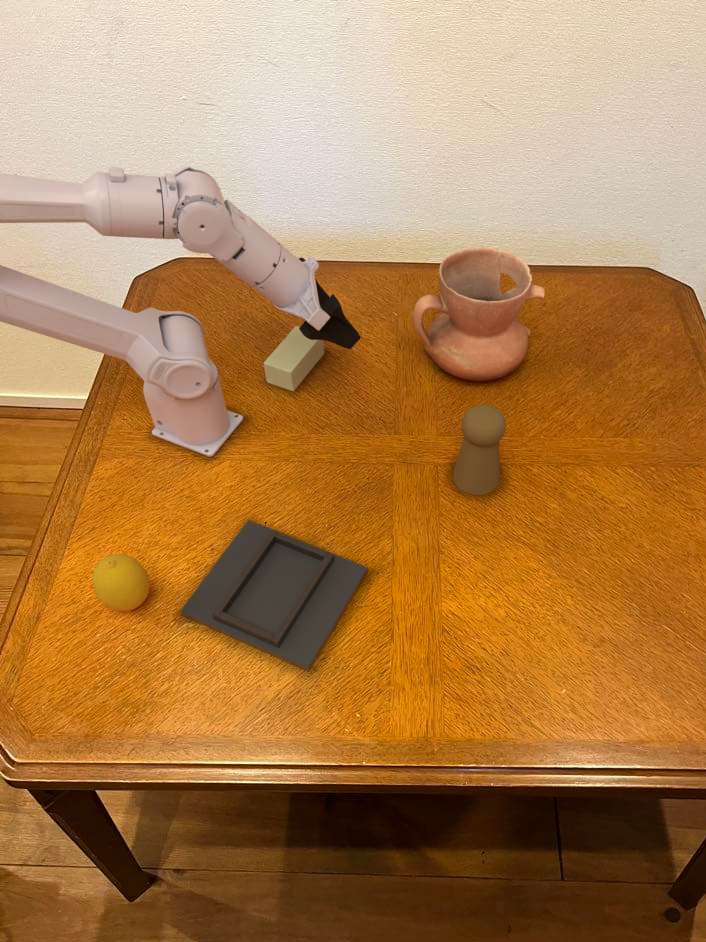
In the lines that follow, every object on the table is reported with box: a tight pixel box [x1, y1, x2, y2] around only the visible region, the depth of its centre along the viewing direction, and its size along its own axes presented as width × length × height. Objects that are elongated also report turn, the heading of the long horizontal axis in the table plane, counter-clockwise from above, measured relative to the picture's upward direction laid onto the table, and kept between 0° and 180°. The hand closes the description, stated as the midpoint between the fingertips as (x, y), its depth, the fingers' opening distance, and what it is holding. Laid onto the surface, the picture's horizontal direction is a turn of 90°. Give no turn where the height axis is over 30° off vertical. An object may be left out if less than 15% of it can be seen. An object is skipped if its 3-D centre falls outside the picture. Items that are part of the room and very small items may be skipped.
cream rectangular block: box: [263, 325, 325, 392], centre depth 104 cm, size 4×9×4 cm, turn 155°
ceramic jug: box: [412, 247, 546, 382], centre depth 102 cm, size 18×14×14 cm
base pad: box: [179, 519, 369, 673], centre depth 83 cm, size 16×14×2 cm
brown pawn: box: [452, 404, 507, 496], centre depth 90 cm, size 6×6×11 cm
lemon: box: [92, 553, 151, 613], centre depth 79 cm, size 6×6×8 cm
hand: (342, 327), depth 92 cm, fingers open, 7 cm apart
